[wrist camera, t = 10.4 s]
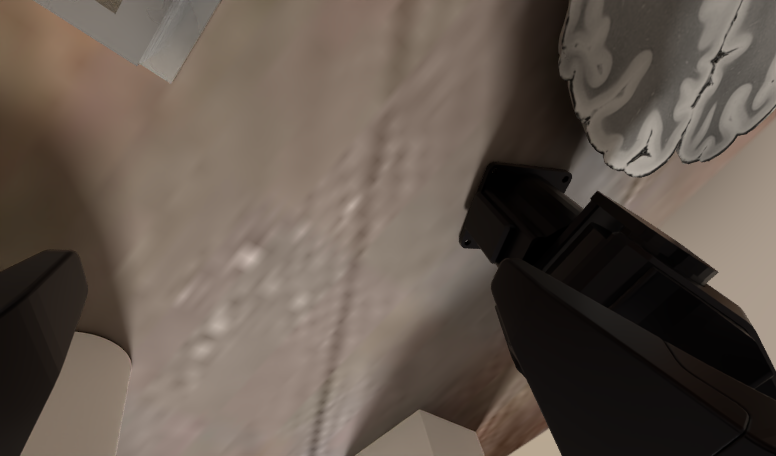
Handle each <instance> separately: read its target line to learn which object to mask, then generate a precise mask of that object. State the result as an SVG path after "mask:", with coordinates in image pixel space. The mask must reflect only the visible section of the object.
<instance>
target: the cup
mask: <svg viewBox="0 0 776 456" xmlns="http://www.w3.org/2000/svg"><path fill="white" fill-rule="evenodd" d="M131 368H132V364H131V360H130V358H129V356H128V354H127V353H126V352H125V351H124V350H123V349H122V348H121V347H119V346H118V345H117V344H115V343H113V342H111V341H109V340H107V339H105V338H102V337H99V336H96V335H92V334H88V333H82V332H75V333H74V336H73V339H72V341H71V344H70V347H69V350H68V353H67V356H66V359H65V362H64V364H63V367H62V370H61V372H60V375H59V377H58V379H57V381H56V383H55V386H54V388H53V390H52V392H51V394H50V396H49V398H48V400H47V402H46V404H45V406H44V408H43V410H42V412H41V414H40V416H39V418H38V420H37V422H36V424H35V426H34V428H33V430H32V432H31V434H30V436H29V439H28V441H27V443H26V445H25V447H24V449H23V451H22V453H21V455H20V456H116V451H117V446H118V440H119V435H120V429H121V423H122V418H123V412H124V407H125V401H126V396H127V390H128V385H129V379H130V374H131Z"/></svg>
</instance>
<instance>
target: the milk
mask: <svg viewBox="0 0 776 456" xmlns="http://www.w3.org/2000/svg"><path fill="white" fill-rule="evenodd" d="M355 456H485V455H484V452H483V450H482V447H481V445H480V442H479V439H478V437H477V434H476V432H475V431H472V430H470V429H467V428H465V427H462V426H460V425H457V424H455V423H452V422H450V421H448V420H445V419H443V418H440V417H438V416H435V415H433V414H430V413H428V412H425V411H423V410H420V409H419V410H417V411H416V412H415V413H413V414H412V415H410V416H409V417H408V418H406V419H405V420H404V421H402V422H401V423H399V424H398V425H397V426H395V427H394V428H392V429H391V430H390V431H388V432H387V433H385V434H384V435H383V436H381V437H380V438H378V439H377V440H376V441H374V442H373V443H371V444H370V445H369V446H367V447H366V448H365V449H363V450H362V451H360V452H359V453H358V454H356V455H355Z"/></svg>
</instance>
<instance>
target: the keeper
mask: <svg viewBox="0 0 776 456" xmlns="http://www.w3.org/2000/svg"><path fill="white" fill-rule="evenodd" d="M34 1H35V2H37V3H38V4H40V5H41V6H43V7H45V8H46V9H48V10H49V11H51V12H52V13H54V14H56V15H57V16H59V17H60V18H62V19H63V20H65V21H67V22H68V23H70V24H71V25H73V26H74V27H76V28H78V29H79V30H81V31H82V32H84V33H85V34H87V35H89V36H90V37H92V38H93V39H95V40H96V41H98V42H100V43H101V44H103V45H104V46H106V47H107V48H109V49H111V50H112V51H114V52H115V53H117V54H118V55H120V56H122V57H123V58H125V59H126V60H128V61H129V62H131V63H133V64H134V65H136V66H138V65H139V64H141V65H142V66H144V67H146V68H147V69H149V70H150V71H152V72H153V73H155V74H157V75H158V76H160V77H161V78H163V79H164V80H166V81H167V82H169V83H172V82H173V81H174V79H175V78H176V76H177V74H178V73H179V71H180V69H181V68H182V66H183V64H184V63H185V61H186V59H187V58H188V56H189V54H190V53H191V51H192V49H193V48H194V46H195V44H196V43H197V41H198V39H199V38H200V36H201V34H202V33H203V31H204V29H205V27H206V26H207V24H208V22H209V21H210V19H211V17H212V16H213V14H214V12H215V11H216V9H217V7H218V6H219V4H220V2H221V1H222V0H34Z"/></svg>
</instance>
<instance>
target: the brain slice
mask: <svg viewBox="0 0 776 456" xmlns="http://www.w3.org/2000/svg"><path fill="white" fill-rule="evenodd" d="M558 53H559V54H560V57H559V60H558V66H559V72H560V77H561V78H563V79H564V80H565V81H568V89H569V93H570V97H571V101H572V105H573V108H574V111H575V114H576V117H577V118H578V119H580V120H581V122H582V125H583V128H584V131H585V133H586V135H587V138H588V140H589V143H590V144H591V145H592V146H593V147H594V149H595V150H596V151H597V152H599V153H601V154H603V158H604V162H605V164H606V165H607V166H609V167H610V168H612V169H614V170H617V171H624V172H625V173H626V174H627V175H629V176H631V177H640V178H641V177H644V176H648V175H650V174H652V173H653V172H655V171H656V170H658V169H659V168H660V167H661V166H663V165H664V164H665V163H666V162H667V161H668V160H669V159H670V157H671V156H672V155H673V153H674V152H675V150H676V152H677V154H678V155H679V157H680V159H681V161H682V163H684V164H690V163H693V162H697V161H701V162H706V161H710V160H711V159H713V158H715V157H717V156H718V155H720V154H721V153H723V152H724V151H725V150H726V149H727V148H728V147H729V146H730V145H731V144H732V143H733V142H734V141H735V139H736V138H737V136H740V135H745V134H747V133H749V132H750V131H752V130H753V129H754V128H756V127H757V126H758V125H759V124H760V123H761V122H762V121H763V120H764V119H766V118H767V117H768V116H769V115H770V114H771V113H772V112H773V111H774V110H775V108H776V0H569V5H568V10H567V14H566V18H565V21H564V25H563V27H562V30H561V33H560V37H559V43H558Z"/></svg>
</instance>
